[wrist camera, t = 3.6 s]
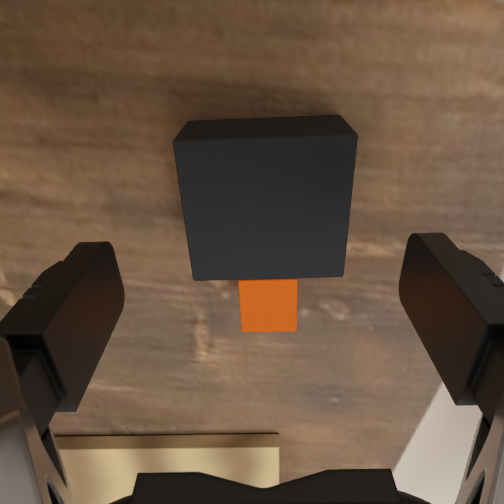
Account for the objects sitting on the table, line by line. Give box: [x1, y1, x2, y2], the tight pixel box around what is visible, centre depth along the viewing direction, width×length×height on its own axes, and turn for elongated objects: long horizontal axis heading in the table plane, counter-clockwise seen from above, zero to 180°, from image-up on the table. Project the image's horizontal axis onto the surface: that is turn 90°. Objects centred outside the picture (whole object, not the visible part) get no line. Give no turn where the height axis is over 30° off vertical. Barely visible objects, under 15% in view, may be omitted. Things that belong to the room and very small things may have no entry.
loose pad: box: [173, 115, 358, 332], centre depth 15 cm, size 6×8×3 cm
